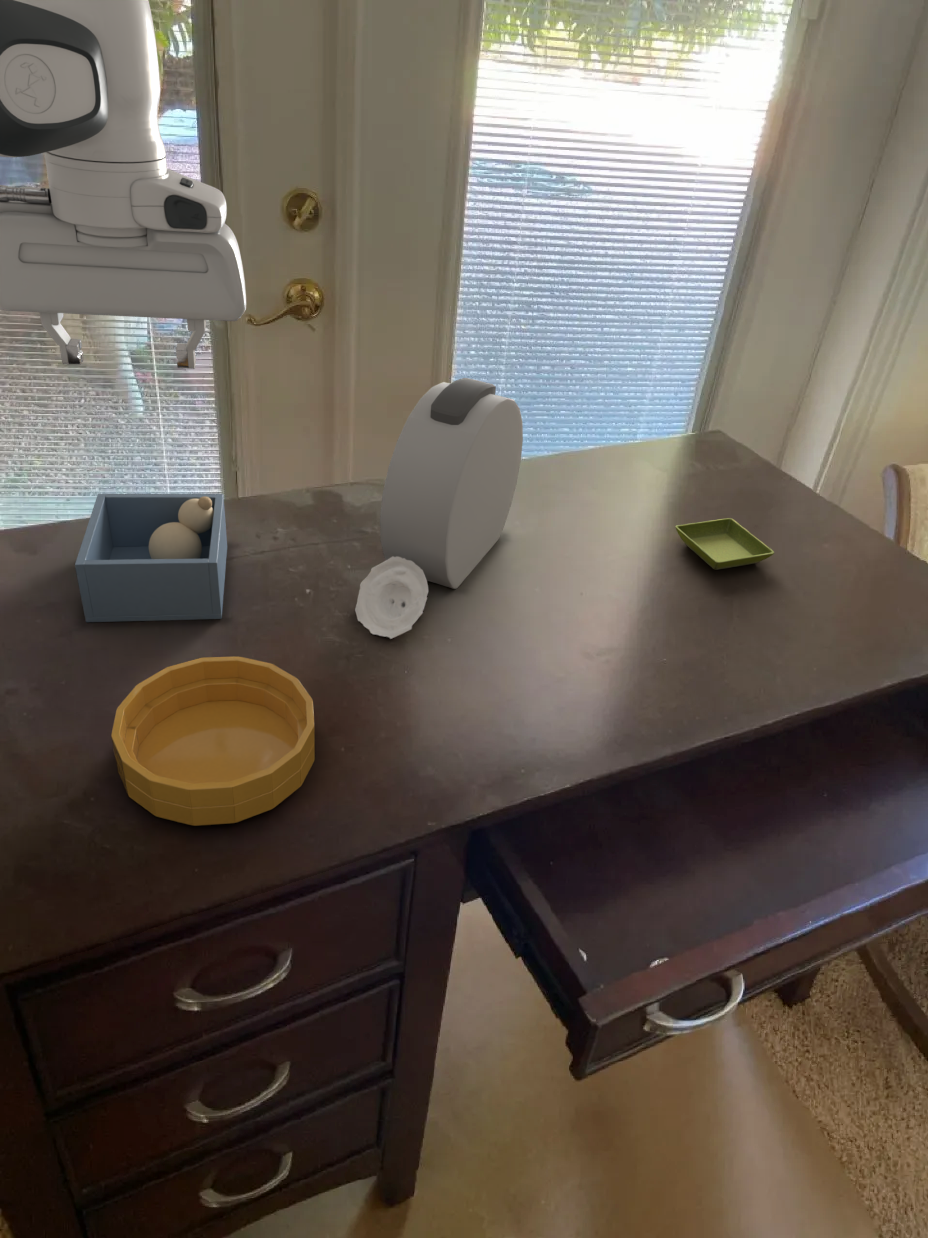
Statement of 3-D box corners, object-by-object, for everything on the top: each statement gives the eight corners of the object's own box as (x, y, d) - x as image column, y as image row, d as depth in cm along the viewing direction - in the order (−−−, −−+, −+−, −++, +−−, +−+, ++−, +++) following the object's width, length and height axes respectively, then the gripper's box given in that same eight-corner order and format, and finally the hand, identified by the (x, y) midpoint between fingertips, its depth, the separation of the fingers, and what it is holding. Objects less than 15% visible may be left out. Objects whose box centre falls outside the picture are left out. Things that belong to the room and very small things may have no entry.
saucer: (727, 531, 112) (731, 516, 111) (771, 567, 105) (776, 552, 104) (669, 540, 108) (673, 525, 107) (712, 578, 102) (716, 562, 101)
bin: (85, 622, 85) (74, 564, 81) (106, 547, 96) (97, 493, 92) (221, 619, 87) (216, 562, 84) (227, 546, 98) (223, 493, 94)
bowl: (107, 837, 65) (98, 795, 62) (133, 700, 77) (126, 659, 74) (317, 823, 68) (317, 782, 65) (310, 692, 80) (310, 653, 77)
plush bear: (137, 554, 88) (186, 481, 89) (139, 555, 93) (185, 486, 94) (184, 583, 89) (231, 511, 90) (183, 582, 94) (228, 513, 95)
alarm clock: (457, 505, 111) (472, 349, 99) (513, 521, 109) (535, 364, 97) (376, 587, 94) (383, 411, 83) (439, 608, 92) (456, 431, 81)
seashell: (405, 650, 92) (456, 617, 87) (367, 652, 88) (418, 617, 83) (382, 582, 94) (431, 546, 90) (344, 580, 90) (393, 542, 86)
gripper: (-46, 190, 65) (-7, 373, 73) (241, 211, 69) (248, 381, 77) (-23, 174, 70) (10, 347, 78) (243, 194, 74) (249, 356, 82)
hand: (130, 364), depth 78 cm, fingers open, 8 cm apart
